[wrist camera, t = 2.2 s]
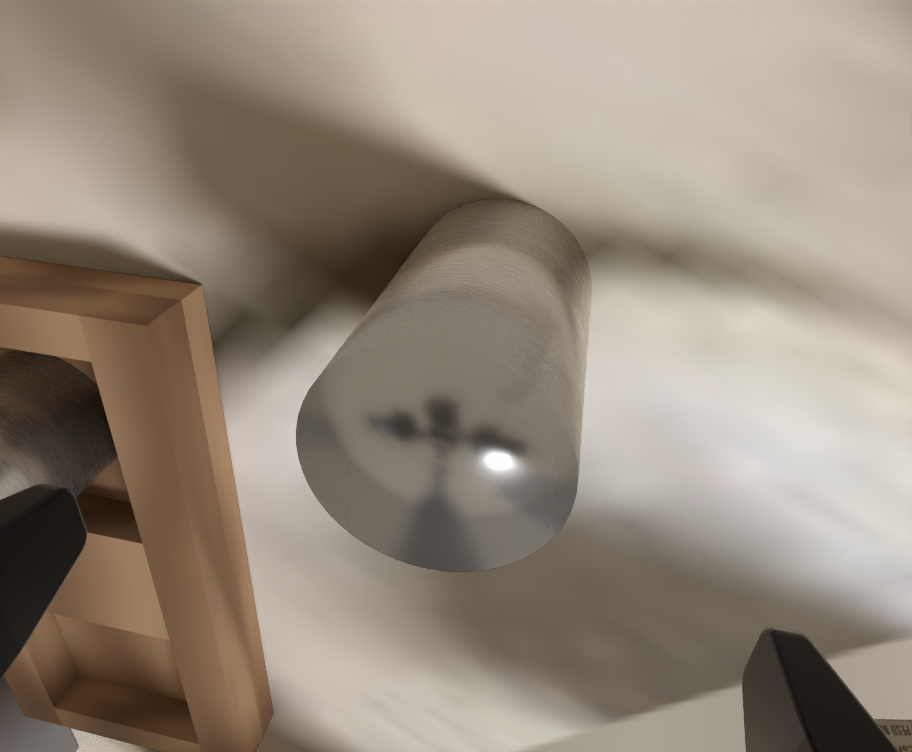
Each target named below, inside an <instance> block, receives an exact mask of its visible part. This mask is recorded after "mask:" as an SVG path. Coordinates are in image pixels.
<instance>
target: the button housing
mask: <svg viewBox="0 0 912 752" xmlns="http://www.w3.org/2000/svg"><path fill="white" fill-rule="evenodd" d="M78 748H79V747H78V745H77V742H76V740H75V738H74V736H73V734H72V731H71V729H70V728H69V727H65V726H61V725H57V724H53V723H49V722H45V721H41V720H38V719H34V718H30V717H26V716H24V714H23V712H22V710H21V708H20V706H19V704H18V702H17V700H16V699H15V697H14V695H13V693H12V691H11V689H10V687H9V685H8V683H7V681H6V679H5V677H4V676H3V677H2V679H1V680H0V752H76V751H77V749H78Z"/></svg>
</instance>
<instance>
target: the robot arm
mask: <svg viewBox="0 0 912 752" xmlns="http://www.w3.org/2000/svg"><path fill="white" fill-rule="evenodd" d="M86 539H87V530H86V526H85V523H84V520H83V517H82V514H81V512H80V509H79V506H78V503H77V500H76V497H75V495H74V493H73V492H72V491H71V490H70V489H68V488H66V487H61V486H56V485H51V484H37V485H34V486H31V487H29V488H27V489H24V490H22V491H20V492H17V493H15V494H13V495H10V496H8V497H5V498H3V499H1V500H0V680H1V679H2V677H3V676H4V674H5V673H6V672H7V670H8V669H9V668H10V666H11V665H12V663H13V662H14V660H15V659H16V658H17V656H18V655H19V653H20V652H21V650H22V649H23V647H24V646H25V644H26V643H27V641H28V639H29V638H30V636H31V635H32V633H33V632H34V630H35V628H36V627H37V625H38V623H39V622H40V620H41V618H42V617H43V615H44V613H45V612H46V610H47V608H48V607H49V605H50V603H51V602H52V600H53V599H54V597H55V595H56V594H57V592H58V590H59V589H60V587H61V585H62V584H63V582H64V580H65V579H66V577H67V575H68V574H69V572H70V570H71V569H72V567H73V565H74V564H75V562H76V560H77V559H78V557H79V555H80V554H81V552H82V550H83V548H84V546H85V543H86ZM742 692H743V709H744V726H745V744H746V752H899V750H898V749H897V748H896V747H895V745H894V744H893V743H892V742H891V740H890V739H889V738H888V737H887V735H886V734H885V733H884V732H883V730H882V729H881V728H880V727H879V725H878V724H877V723H876V722H875V720H874V719H873V718H872V717H871V715H870V714H869V713H868V712H867V710H866V709H865V708H864V707H863V705H862V704H861V703H860V702H859V700H858V699H857V698H856V697H855V695H854V694H853V693H852V692H851V691H850V689H849V688H848V687H847V685H846V684H845V683H844V682H843V680H842V679H841V678H840V677H839V676H838V674H837V673H836V672H835V670H834V669H833V668H832V667H831V665H830V664H829V663H828V662H827V660H826V659H825V658H824V657H823V655H822V654H821V653H820V652H819V650H818V649H817V648H816V647H815V645H814V644H813V643H812V642H811V640H810V639H809V638H808V637H806V636H805V635H804V634H802V633H800V632H796V631H791V630H786V629H781V628H776V627H767V628H765V629H764V630H763V631H762V633H761V635H760V637H759V639H758V641H757V643H756V645H755V648H754V650H753V652H752V654H751V656H750V658H749V660H748V663H747V665H746V667H745V670H744V674H743V682H742Z"/></svg>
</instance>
